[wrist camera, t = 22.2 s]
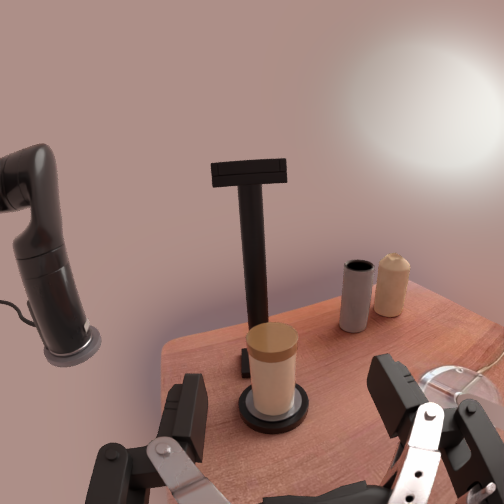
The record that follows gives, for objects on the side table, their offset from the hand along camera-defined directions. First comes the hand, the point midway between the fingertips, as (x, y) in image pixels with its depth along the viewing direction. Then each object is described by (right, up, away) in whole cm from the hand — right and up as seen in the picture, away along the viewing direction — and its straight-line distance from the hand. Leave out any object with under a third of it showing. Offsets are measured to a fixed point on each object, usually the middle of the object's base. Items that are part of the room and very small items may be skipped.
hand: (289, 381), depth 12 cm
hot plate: (+1, -11, +15) cm, 19 cm away
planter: (+14, -6, +29) cm, 33 cm away
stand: (-1, -9, +23) cm, 24 cm away
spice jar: (+1, -10, +15) cm, 18 cm away
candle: (+22, -4, +32) cm, 39 cm away
